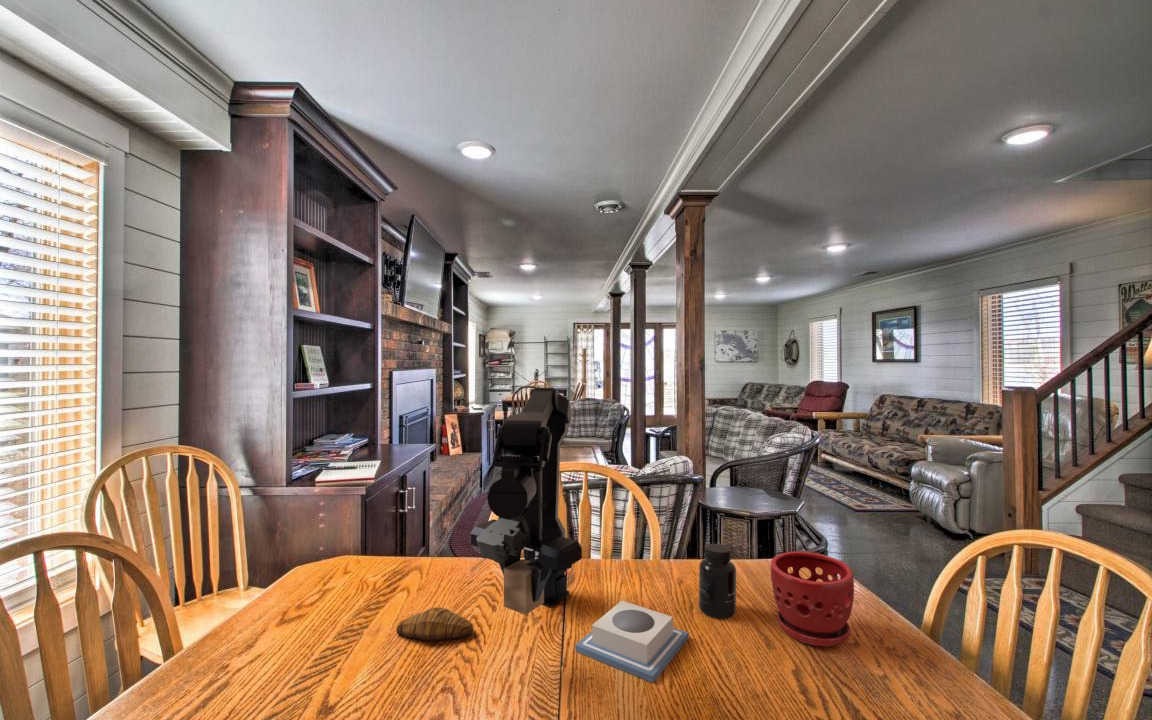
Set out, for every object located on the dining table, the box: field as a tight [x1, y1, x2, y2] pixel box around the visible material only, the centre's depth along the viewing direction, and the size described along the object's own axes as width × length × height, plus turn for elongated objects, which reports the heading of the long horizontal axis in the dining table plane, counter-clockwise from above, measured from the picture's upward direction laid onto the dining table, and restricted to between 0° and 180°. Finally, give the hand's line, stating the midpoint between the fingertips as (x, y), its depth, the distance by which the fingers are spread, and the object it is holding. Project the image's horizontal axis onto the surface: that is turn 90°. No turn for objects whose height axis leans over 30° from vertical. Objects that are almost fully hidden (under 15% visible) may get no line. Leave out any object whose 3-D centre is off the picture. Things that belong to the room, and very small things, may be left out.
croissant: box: [396, 606, 474, 642], centre depth 86 cm, size 14×7×5 cm, turn 87°
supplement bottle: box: [698, 543, 737, 620], centre depth 94 cm, size 7×7×12 cm
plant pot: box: [770, 551, 855, 648], centre depth 87 cm, size 13×13×12 cm
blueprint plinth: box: [574, 600, 690, 684], centre depth 83 cm, size 14×14×4 cm
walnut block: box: [503, 558, 544, 616], centre depth 78 cm, size 4×4×6 cm
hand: (524, 596), depth 78 cm, fingers closed on walnut block, 4 cm apart
